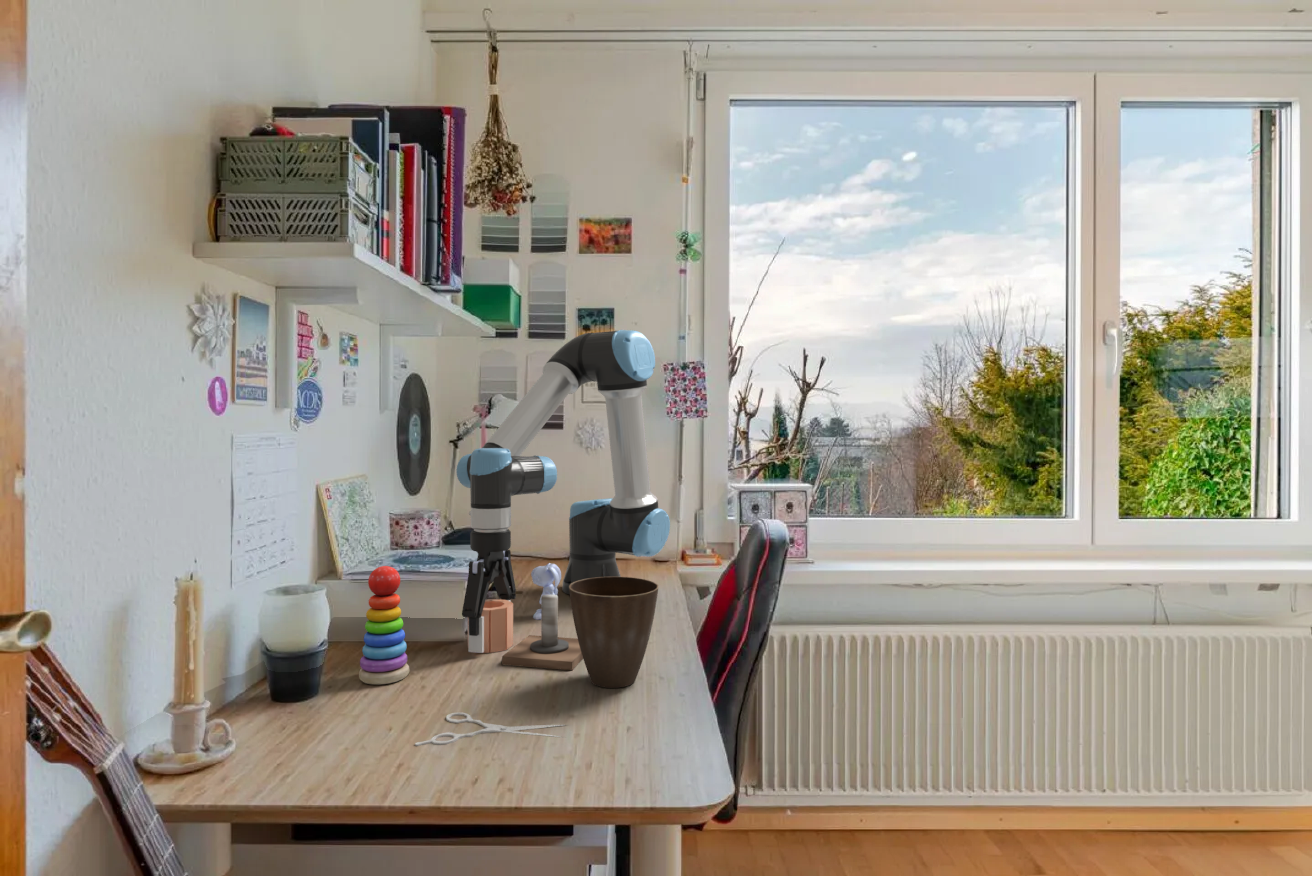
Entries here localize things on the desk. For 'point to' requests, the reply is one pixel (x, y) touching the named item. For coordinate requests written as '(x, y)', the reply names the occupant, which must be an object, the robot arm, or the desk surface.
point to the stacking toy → (384, 631)
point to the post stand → (546, 644)
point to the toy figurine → (546, 581)
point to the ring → (497, 625)
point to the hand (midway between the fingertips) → (490, 641)
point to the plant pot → (613, 626)
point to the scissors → (488, 729)
